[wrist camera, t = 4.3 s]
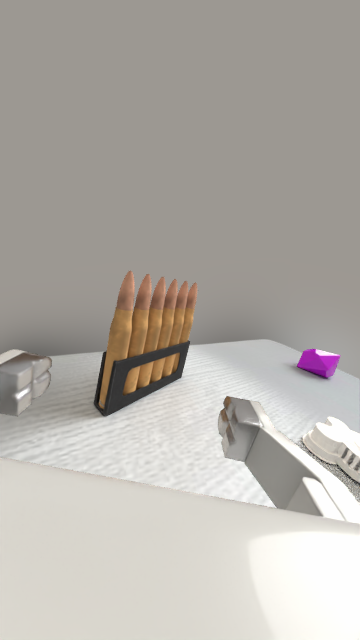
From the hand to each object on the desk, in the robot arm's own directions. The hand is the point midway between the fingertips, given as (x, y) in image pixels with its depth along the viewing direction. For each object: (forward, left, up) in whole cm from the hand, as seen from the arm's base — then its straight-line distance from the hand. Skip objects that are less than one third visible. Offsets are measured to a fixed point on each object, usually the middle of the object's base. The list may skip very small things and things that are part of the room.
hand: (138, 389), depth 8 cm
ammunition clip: (0, +10, -8) cm, 12 cm away
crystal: (+31, +26, -8) cm, 41 cm away
